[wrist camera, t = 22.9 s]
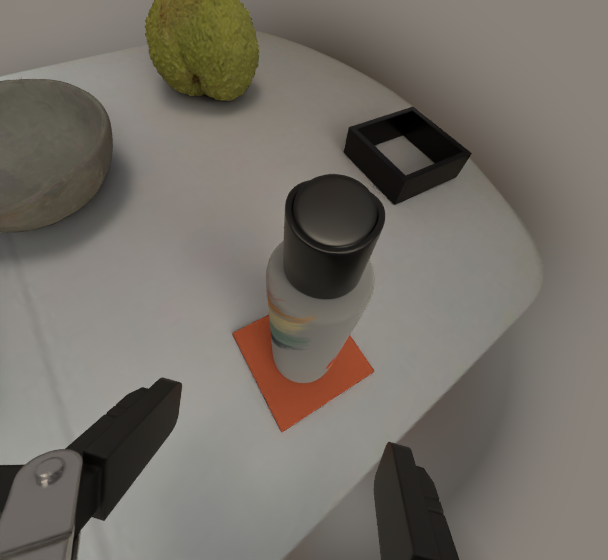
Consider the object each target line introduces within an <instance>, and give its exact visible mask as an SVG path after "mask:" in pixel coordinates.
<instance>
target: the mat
mask: <svg viewBox="0 0 608 560" xmlns="http://www.w3.org/2000/svg"><path fill="white" fill-rule="evenodd" d="M232 334H233V336H234V338H235V340H236V342H237V344H238V346H239V348H240V350H241V352H242V354H243V356H244V358H245V360H246V362H247V364H248V366H249V368H250V370H251V372H252V374H253V376H254V378H255V380H256V382H257V384H258V386H259V388H260V390H261V392H262V394H263V396H264V398H265V400H266V402H267V404H268V406H269V408H270V410H271V412H272V414H273V416H274V418H275V420H276V422H277V424H278V426H279V428H280V430H281V432H283V431H284V430H286V429H288V428H289V427H291V426H292V425H294V424H295V423H297V422H298V421H300V420H301V419H303V418H304V417H306V416H307V415H309V414H310V413H312V412H313V411H315V410H316V409H318V408H319V407H321V406H323V405H324V404H326V403H327V402H329V401H330V400H332V399H333V398H335V397H336V396H338V395H339V394H341V393H342V392H344V391H345V390H347V389H348V388H350V387H351V386H353V385H354V384H356V383H358V382H359V381H361V380H362V379H364V378H365V377H367V376H368V375H370V374H371V373H373V372H374V370H373V368H372V367H371V365H370V364H369V362H368V361H367V359H366V358H365V357H364V355H363V354H362V352H361V351H360V349H359V348H358V346H357V345H356V344H355V342H354V341H353V339H352V338H351V336H350V335H349V337H348V338H347V340H346V342H345V343H344V345H343V347H342V348H341V350H340V352H339V353H338V355H337V357H336V358H335V360H334V362H333V363H332V365H331V366H330V368H329V369H328V371H327V372H326V373H325V374H324V375H323V376H322V377H321V378H319V379H318V380H316V381H313V382H310V383H297V382H293V381H291V380H289V379H287V378H286V377H284V376H283V375H282V374H281V373H280V371H279V370H278V368H277V367H276V364H275V362H274V358H273V352H272V342H271V331H270V320H269V315H267V316H265V317H263V318H261V319H259V320H257V321H255V322H253V323H251V324H249V325H247V326H245V327H243V328H241V329H240V330H238V331H236V332H234V333H232Z"/></svg>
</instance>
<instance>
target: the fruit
mask: <svg viewBox="0 0 608 560" xmlns="http://www.w3.org/2000/svg"><path fill="white" fill-rule="evenodd" d="M145 21H146V25H145V28H146V34H145V35H146V37H147V43H148V45H149V54H150V59H151V60H153V65H154V66H155V67H156V69H157V71H158V73H159V74H160V75H161V76H162V78H163V79H164V80H165V81H166V82H167V83H168V84H169V85H170V86H171V87H172V88H173V89H174V90H176V91H179V92H181V93H183V94H188V95H189V96H195V95H197V96H202V95H207V96H209V97H212V98H215V100H222V101H223V100H227V101H232V100H233V99H235V98H236V97H239V96H241V95H242V94H243V93H244V92H245V90H246V89H247V87H248V86H249V85H250V84H251V81H252V78H253V77H254V75H255V70H256V68H257V67H258V59H259V55H258V53H259V49H258V47H259V46H258V44H257V42H258V41H257V39H256V30H255V29H254V27H253V23H252V18H251V17H250V16H249V11H247V10H246V8H244V6H243V3H240V1H239V0H154V2H153V4H152V7H151V9H150V10H149V14H148V17H147V18H146V20H145Z"/></svg>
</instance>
